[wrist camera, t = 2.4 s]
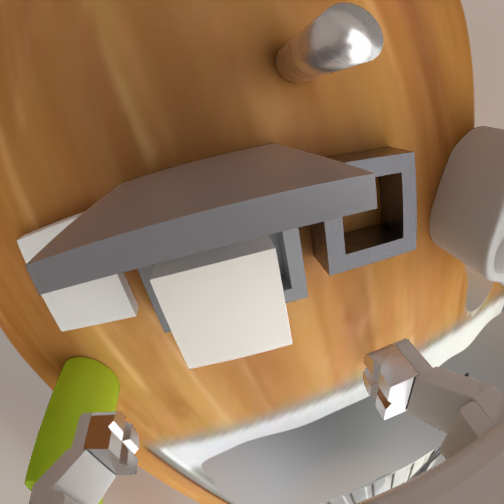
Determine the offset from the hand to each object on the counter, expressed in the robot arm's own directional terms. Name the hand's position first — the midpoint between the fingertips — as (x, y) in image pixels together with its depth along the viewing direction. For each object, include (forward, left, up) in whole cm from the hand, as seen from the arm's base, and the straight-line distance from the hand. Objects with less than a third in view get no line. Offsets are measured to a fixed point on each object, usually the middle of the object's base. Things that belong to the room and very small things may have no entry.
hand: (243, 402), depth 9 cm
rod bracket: (-1, +10, -13) cm, 16 cm away
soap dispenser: (+10, -16, -13) cm, 23 cm away
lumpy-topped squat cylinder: (+1, +24, -13) cm, 27 cm away
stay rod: (-11, +7, -13) cm, 18 cm away
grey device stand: (0, 0, -13) cm, 13 cm away
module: (0, 0, -12) cm, 12 cm away
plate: (-1, -11, -13) cm, 17 cm away
